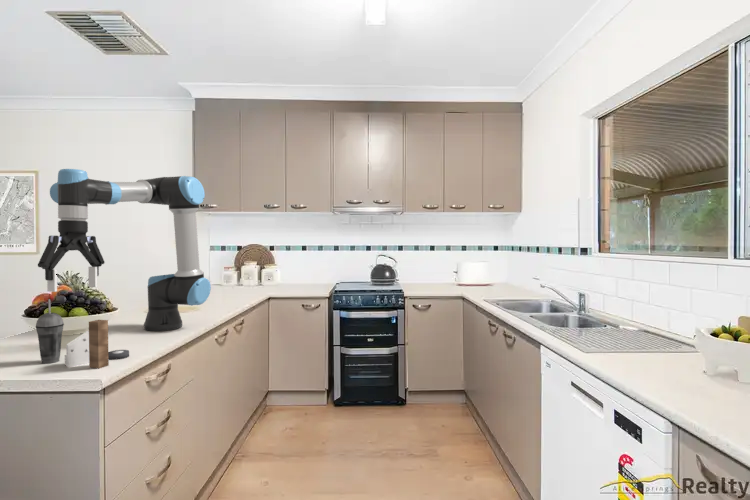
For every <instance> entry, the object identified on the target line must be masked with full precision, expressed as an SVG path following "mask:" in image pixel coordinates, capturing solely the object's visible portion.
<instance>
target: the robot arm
mask: <svg viewBox="0 0 750 500" xmlns="http://www.w3.org/2000/svg"><path fill="white" fill-rule="evenodd" d="M205 193H206V192H205V188H204V186H203V183H201V182H200V180H199V179H197V178H196V177H194V176H188V175H187V176H186V175H183V176H182V175H181V176H161V177H155V178H148V179H138V180H136V181H105V180H101V179H100V180H97V179H91V178H89V177H88V172H87V171H86V170H83V169H76V168H63V169H59V170H58V173H57V182H55V183H53V184H52V185H51V186H50V188H49V195H50V198H51V200H52V201H53V202H54V203H56V204H57V218H58V219H60V220H58V222H57V224H58V225H57V231H58V233H59V235H49V236H48V242H47V245H46V246H45V249H44V251H43V253H42V254H41V257H40V259H39V261H38V263H37V267H38V268H42V270H44V276H45V277H44V279H45V281H47V284H46V285H47V286H46V287H47V292H48V293H49V292H53V293H56V292H58V269H55V268H56V266H57V265H58V264H59V263H60V261H61V260H62V259H63V258H64V256H65V255H66V253H68V252H70V251H78V252H80V254H81V256H83V257H84V258H85V260H86V261H87V262H88V263H89V265H90V266H88V287H89V288H98V277H99V274H100V273H99V270H100V267H102V265H104V264H105V263H106V262H105V260H104V258H103V255H102V253H101V249H99V246H98V244H97V240H96V236H95V235H87V233H88V232H89V231H88V229H89V227H88V225H89V222H88V221H86V220H88V219H89V217H88V216H89V215H88V214H89V212H88V210H89V209H88V207H89V205H92V204H93V205H95V204H96V205H97V204H102V205H106V206H107V205H116V204H118V203H124V202H129V203H130V202H138V203H139V204H152V205H153V204H154V205H163V206H168V210H169V211H170V212H171V213H172V214H173V227H174V237H175V238H174V241H175V254H176V265H177V266H176V267H177V268H176V269H177V271H175V273H169V274H162V275H154V276H150V277H149V278H148V281H147V305H148V307H147V313H146V315H145V316H146V317H145V321H144V323H143V330H145V331H147V332H148V331H150V332H163V331H172V330H177V329H181V328H182V327H183V320H182V317H181V314H180V311H179V305H182V306H183V305H184V306H185V305H186V306H190V307H191V306H200V305H203V304H204V303H205V302H206V301H208V298H209V296H210V294H211V289H212V287H211V285H212V284H211V281H209V279H208V278H207V277H205V275H204V271H202V269H200V257H199V255H200V254H199V242H198V228H197V212H198V211H199V210H200V204H201V205H202V203H203V202H204V199H205V197H206V196H205ZM59 243H60V244H59ZM56 274H57V275H56Z"/></svg>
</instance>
